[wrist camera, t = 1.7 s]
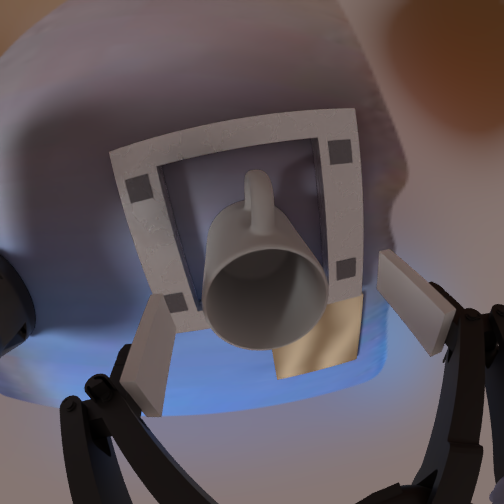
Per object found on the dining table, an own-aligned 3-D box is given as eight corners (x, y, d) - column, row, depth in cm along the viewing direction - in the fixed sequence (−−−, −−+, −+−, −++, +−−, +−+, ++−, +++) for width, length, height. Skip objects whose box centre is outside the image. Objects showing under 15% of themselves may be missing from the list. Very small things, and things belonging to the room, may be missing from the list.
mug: (290, 275, 29) (322, 344, 19) (211, 280, 29) (208, 356, 19) (293, 161, 24) (342, 182, 14) (201, 164, 24) (185, 187, 14)
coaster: (276, 376, 36) (277, 379, 36) (265, 313, 31) (266, 316, 31) (354, 356, 36) (356, 359, 36) (361, 291, 31) (363, 294, 31)
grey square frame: (171, 323, 30) (169, 334, 28) (116, 150, 22) (108, 152, 20) (354, 286, 31) (361, 296, 29) (345, 109, 22) (355, 108, 21)
